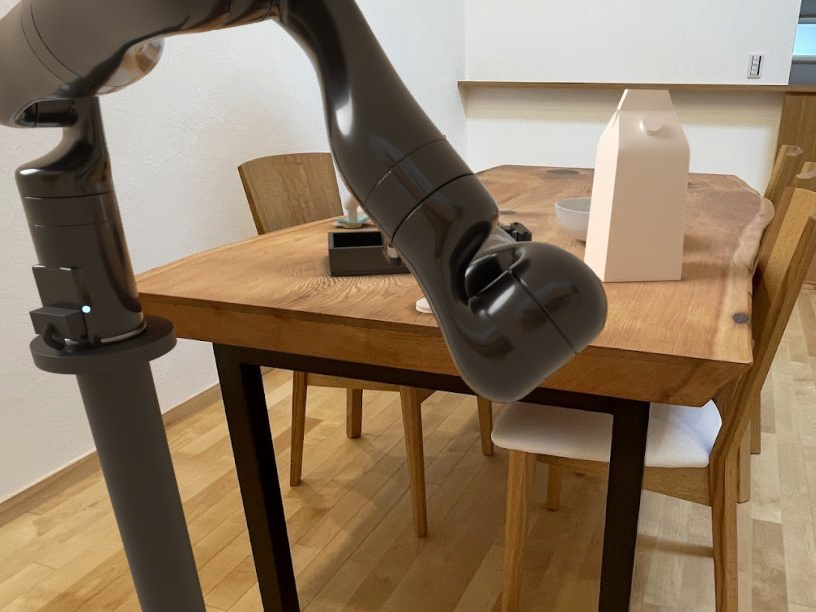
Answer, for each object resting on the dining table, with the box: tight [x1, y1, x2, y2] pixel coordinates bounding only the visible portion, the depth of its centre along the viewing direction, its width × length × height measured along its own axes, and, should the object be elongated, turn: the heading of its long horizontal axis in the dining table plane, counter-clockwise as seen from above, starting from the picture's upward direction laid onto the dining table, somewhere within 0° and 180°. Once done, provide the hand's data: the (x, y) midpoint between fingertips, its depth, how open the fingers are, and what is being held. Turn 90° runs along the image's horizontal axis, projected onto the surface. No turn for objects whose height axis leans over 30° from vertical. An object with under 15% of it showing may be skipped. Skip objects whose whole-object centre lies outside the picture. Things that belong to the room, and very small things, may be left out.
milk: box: [583, 88, 691, 283], centre depth 98 cm, size 12×12×26 cm
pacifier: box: [332, 194, 370, 229], centre depth 132 cm, size 7×6×6 cm
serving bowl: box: [554, 196, 592, 243], centre depth 121 cm, size 21×21×7 cm
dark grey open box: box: [327, 229, 411, 277], centre depth 104 cm, size 13×13×4 cm
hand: (445, 228), depth 71 cm, fingers open, 8 cm apart
